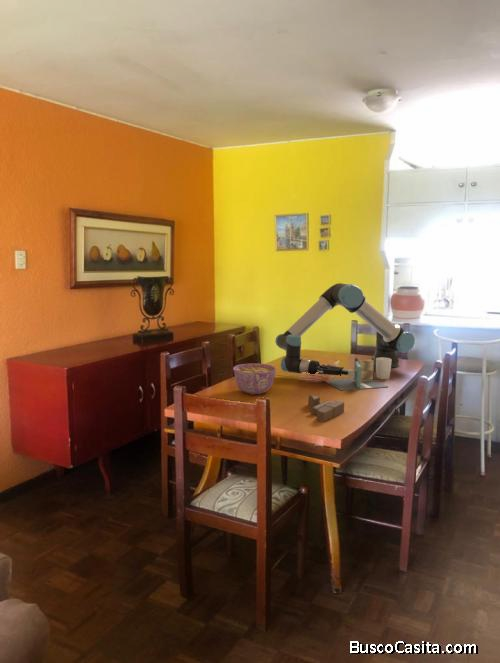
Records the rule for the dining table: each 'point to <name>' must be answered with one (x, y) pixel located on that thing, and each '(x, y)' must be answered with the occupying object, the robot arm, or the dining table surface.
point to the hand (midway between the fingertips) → (355, 373)
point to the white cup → (383, 368)
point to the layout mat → (351, 385)
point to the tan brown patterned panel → (367, 369)
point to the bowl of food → (254, 377)
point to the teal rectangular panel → (357, 374)
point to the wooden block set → (325, 408)
